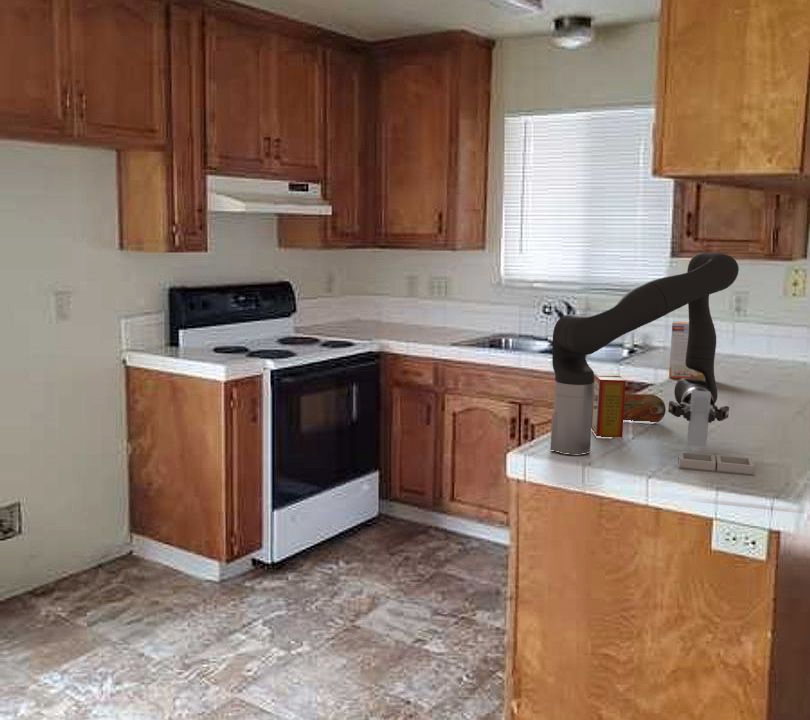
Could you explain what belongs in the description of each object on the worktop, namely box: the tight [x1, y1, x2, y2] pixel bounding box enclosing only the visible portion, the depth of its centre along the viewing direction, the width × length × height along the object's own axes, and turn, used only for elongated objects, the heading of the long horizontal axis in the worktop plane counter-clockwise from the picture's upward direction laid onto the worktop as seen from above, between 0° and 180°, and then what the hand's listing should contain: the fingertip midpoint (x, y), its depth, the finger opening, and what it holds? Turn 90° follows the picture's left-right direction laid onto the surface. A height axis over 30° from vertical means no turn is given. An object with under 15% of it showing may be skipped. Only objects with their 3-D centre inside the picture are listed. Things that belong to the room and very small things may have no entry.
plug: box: [686, 390, 711, 448], centre depth 196 cm, size 4×5×12 cm
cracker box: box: [668, 321, 705, 380], centre depth 320 cm, size 14×6×21 cm, turn 59°
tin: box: [623, 392, 667, 423], centre depth 246 cm, size 15×3×8 cm, turn 81°
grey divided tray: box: [677, 451, 756, 477], centre depth 197 cm, size 16×11×3 cm
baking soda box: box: [591, 373, 627, 438], centre depth 229 cm, size 10×6×16 cm
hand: (699, 417), depth 194 cm, fingers closed on plug, 4 cm apart
